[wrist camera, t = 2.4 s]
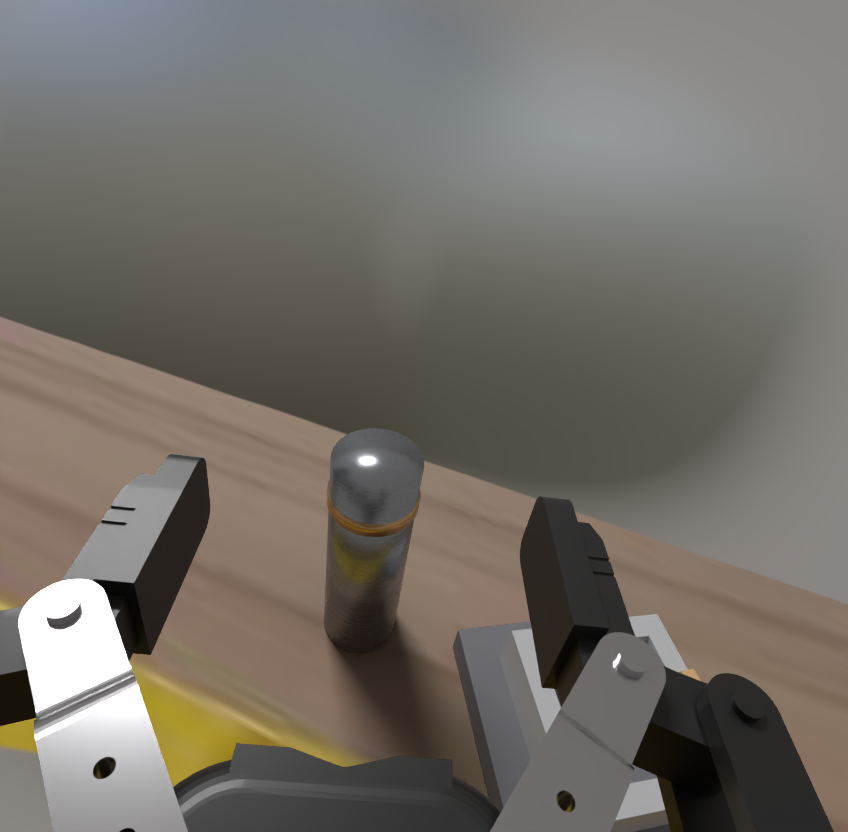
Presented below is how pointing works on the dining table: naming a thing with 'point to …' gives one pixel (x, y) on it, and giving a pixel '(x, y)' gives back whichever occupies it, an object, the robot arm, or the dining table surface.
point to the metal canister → (369, 534)
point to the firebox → (540, 711)
